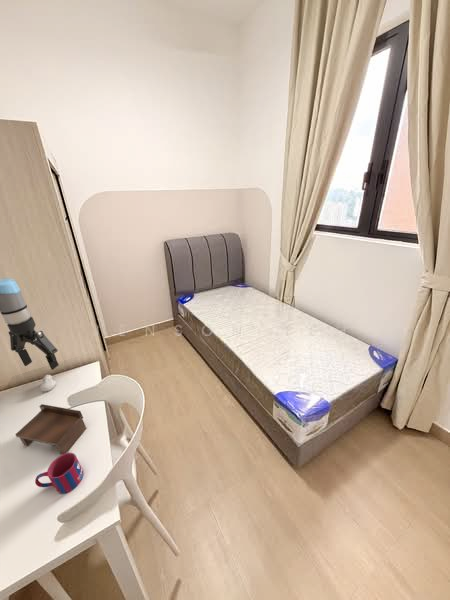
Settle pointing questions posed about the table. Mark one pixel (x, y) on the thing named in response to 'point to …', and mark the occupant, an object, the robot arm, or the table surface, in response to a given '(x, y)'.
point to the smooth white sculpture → (47, 383)
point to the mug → (63, 473)
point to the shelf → (54, 428)
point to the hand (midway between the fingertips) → (41, 365)
